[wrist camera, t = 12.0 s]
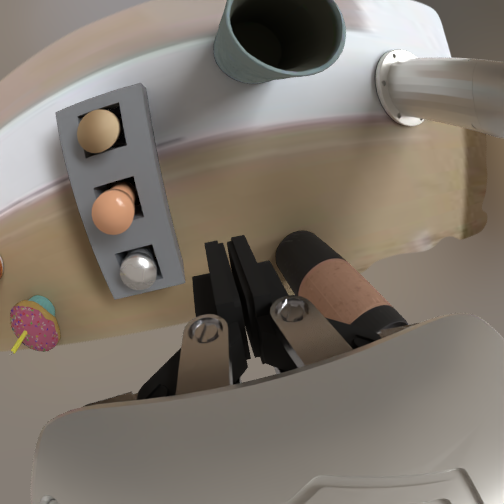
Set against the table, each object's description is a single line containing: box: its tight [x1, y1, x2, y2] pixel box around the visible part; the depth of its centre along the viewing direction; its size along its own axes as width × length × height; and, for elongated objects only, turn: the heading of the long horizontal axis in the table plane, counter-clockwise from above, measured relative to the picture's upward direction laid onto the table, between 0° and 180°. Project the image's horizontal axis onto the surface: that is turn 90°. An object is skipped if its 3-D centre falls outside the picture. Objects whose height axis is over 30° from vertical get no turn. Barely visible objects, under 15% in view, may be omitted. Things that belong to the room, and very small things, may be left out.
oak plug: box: [77, 110, 124, 153], centre depth 22 cm, size 4×4×6 cm
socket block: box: [55, 83, 185, 299], centre depth 27 cm, size 9×22×5 cm, turn 7°
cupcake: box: [10, 295, 60, 355], centre depth 27 cm, size 9×8×12 cm
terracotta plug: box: [92, 181, 137, 235], centre depth 24 cm, size 4×4×6 cm
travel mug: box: [276, 231, 408, 334], centre depth 31 cm, size 8×8×20 cm
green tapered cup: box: [214, 0, 346, 84], centre depth 20 cm, size 10×10×12 cm
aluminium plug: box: [120, 244, 157, 290], centre depth 29 cm, size 4×4×6 cm
